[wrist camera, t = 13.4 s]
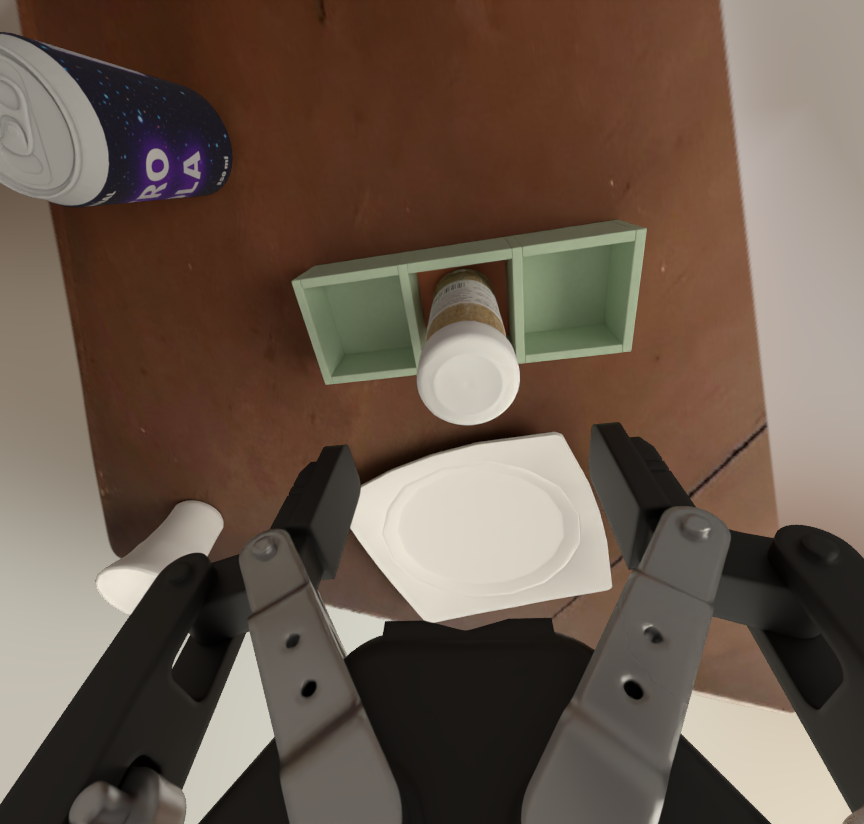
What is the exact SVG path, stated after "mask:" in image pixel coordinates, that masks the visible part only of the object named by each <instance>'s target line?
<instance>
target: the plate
mask: <svg viewBox="0 0 864 824" xmlns="http://www.w3.org/2000/svg"><path fill="white" fill-rule="evenodd" d="M350 528H351V530H352V531H353V533H354V534H355V536H356V537H357V539H358V540H359V542H360V543H361V544H362V546H363V547H364V548H365V550H366V551H367V552H368V554H369V555H370V556H371V558H372V559H373V560H374V562H375V563H376V564H377V566H378V567H379V568H380V570H381V571H382V572H383V573H384V574H385V576H386V577H387V578H388V579H389V581H390V582H391V583H392V584H393V585H394V587H395V588H396V589H397V590H398V591H399V592H400V594H401V595H402V596H403V597H404V598H405V599H406V600H407V601H408V603H409V604H410V605H411V606H412V607H413V608H414V609H415V611H416V612H417V613H418V614H419V615H420V616H421V617H422V619H423V620H424V621H428V622H432V623H434V622H439V621H444V620H449V619H454V618H459V617H463V616H468V615H473V614H478V613H483V612H489V611H494V610H500V609H505V608H511V607H516V606H522V605H527V604H532V603H537V602H542V601H547V600H553V599H559V598H564V597H570V596H576V595H582V594H588V593H594V592H600V591H605V590H609V589H610V588H611V587H612V582H611V573H610V564H609V555H608V546H607V539H606V535H605V531H604V527H603V523H602V519H601V515H600V511H599V509H598V506H597V503H596V501H595V498H594V495H593V493H592V490H591V487H590V484H589V482H588V480H587V478H586V476H585V475H584V473H583V471H582V469H581V467H580V466H579V464H578V462H577V460H576V458H575V457H574V455H573V453H572V451H571V449H570V448H569V446H568V444H567V442H566V440H565V439H564V437H563V435H562V434H559V433H557V432H549V433H542V434H535V435H527V436H520V437H512V438H505V439H498V440H490V441H483V442H476V443H473V444H469V445H465V446H461V447H457V448H453V449H450V450H446V451H442V452H438V453H434V454H431V455H428V456H426V457H423V458H420V459H418V460H415V461H412V462H409V463H407V464H404V465H401V466H399V467H396V468H393V469H391V470H389V471H387V472H385V473H383V474H382V475H380V476H378V477H376V478H374V479H372V480H370V481H368V482H366V483H364V484H362V485H361V492H360V497H359V501H358V504H357V507H356V510H355V513H354V517H353V520H352V523H351V526H350Z"/></svg>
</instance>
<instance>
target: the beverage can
mask: <svg viewBox="0 0 864 824" xmlns="http://www.w3.org/2000/svg"><path fill="white" fill-rule="evenodd" d="M231 168H232V148H231V143H230V139H229V136H228V133H227V130H226V128H225V126H224V124H223V122H222V120H221V118H220V117H219V115H218V114H217V112H216V111H215V110H214V108H213V107H212V106H211V105H210V104H209V103H208V102H207V101H206V100H205V99H204V98H203V97H202V96H200V95H199V94H198V93H196V92H195V91H193V90H191V89H189V88H187V87H185V86H182V85H178V84H175V83H172V82H169V81H165V80H162V79H159V78H156V77H153V76H149V75H146V74H143V73H140V72H136V71H133V70H130V69H127V68H123V67H120V66H117V65H114V64H110V63H107V62H104V61H101V60H98V59H94V58H91V57H88V56H85V55H81V54H78V53H75V52H72V51H68V50H65V49H62V48H59V47H55V46H52V45H49V44H46V43H43V42H39V41H36V40H33V39H30V38H26V37H23V36H20V35H16V34H12V33H5V32H0V183H2V184H4V185H5V186H7V187H9V188H10V189H12V190H14V191H16V192H18V193H21V194H23V195H27V196H30V197H34V198H40V199H45V200H47V201H50V202H52V203H55V204H58V205H62V206H67V207H86V206H97V205H108V204H118V203H129V202H140V201H150V200H161V199H172V198H183V197H193V196H204V195H210V194H213V193H215V192H216V191H218V190H219V189H221V188H222V187H223V186H224V184H225V183H226V181H227V180H228V178H229V175H230V172H231Z"/></svg>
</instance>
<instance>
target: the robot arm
mask: <svg viewBox="0 0 864 824" xmlns="http://www.w3.org/2000/svg"><path fill="white" fill-rule="evenodd" d="M589 473H590V478H591V481H592V484H593V486H594V488H595V491H596V493H597V496H598V498H599V500H600V503H601V505H602V508H603V510H604V512H605V515H606V517H607V519H608V522H609V524H610V527H611V529H612V531H613V534H614V536H615V538H616V541H617V543H618V546H619V548H620V550H621V553H622V555H623V558H624V560H625V562H626V565H627V567H628V569H629V570H631V569H633V571H632V572H631V574H630V576H629V578H628V581H627V583H626V585H625V587H624V589H623V591H622V593H621V596H620V598H619V600H618V602H617V604H616V606H615V608H614V610H613V613H612V615H611V617H610V619H609V621H608V623H607V625H606V628H605V630H604V632H603V634H602V636H601V638H600V640H599V643H598V645H597V647H596V649H595V650H593V649H592V648H590V647H589V646H587V645H586V644H584V643H582V642H580V641H578V640H576V639H574V638H572V637H569V636H567V635H564V634H561V633H557V632H554V629H553V624H552V619H551V618H524V619H506V620H503V621H499V622H496V623H493V624H489V625H486V626H482V627H479V628H475V629H472V630H468V631H464V630H459V629H455V628H451V627H447V626H443V625H440V624H436V623H432V622H428V621H385V625H384V632H383V635H382V636H379V637H376V638H374V639H372V640H370V641H367V642H366V643H364V644H362V645H360V646H359V647H358V648H356V649H355V650H354V651H352V652H351V653H350V654H349V655H348V656H347V654H346V651H345V649H344V648H343V645H342V643H341V641H340V639H339V636H338V634H337V632H336V630H335V628H334V625H333V623H332V621H331V619H330V617H329V614H328V612H327V610H326V608H325V605H324V603H323V601H322V599H321V596H320V594H319V592H318V590H317V589H318V586H319V584H320V581H321V580H325V579H334V578H335V575H336V572H337V568H338V565H339V562H340V559H341V556H342V552H343V549H344V546H345V543H346V539H347V536H348V533H349V530H350V526H351V523H352V520H353V517H354V513H355V510H356V507H357V504H358V501H359V497H360V492H361V484H360V478H359V475H358V472H357V469H356V466H355V463H354V460H353V457H352V454H351V451H350V448H349V446H348V445H336V446H325V447H324V448H323V450H322V452H321V454H320V456H319V458H318V460H317V462H310V463H309V464H308V465H307V466H306V467H305V468H304V469H303V470H302V471H301V472H300V473H299V475H298V477H297V479H296V481H295V483H294V486H292V488H291V490H290V492H289V496H287V498H286V500H285V501H284V503H283V505H282V507H281V509H280V511H279V513H278V515H277V517H276V518H275V520H274V522H273V524H272V526H271V528H270V530H267V531H264V532H262V533H259V534H258V535H256V536H255V537H253V538H252V539H251V540H250V541H248V542H247V543H246V545H245V546H244V547H243V549H242V550H241V552H240V554H238V555H235V556H232V557H229V558H226V559H223V560H220V561H217V562H213V563H211V561H210V560H209V558H208V557H207V556H206V555H205V554H203V553H190V554H187V555H184V556H182V557H180V558H178V559H176V560H175V561H173V562H171V563H170V564H169V565H167V566H166V567H165V568H164V569H163V570H162V571H161V572H160V573H159V575H158V576H157V577H156V579H155V580H154V582H153V583H152V584H151V586H150V587H149V589H148V590H147V592H146V593H145V595H144V596H143V598H142V599H141V600H140V602H139V603H138V605H137V606H136V608H135V609H134V611H133V612H132V614H131V615H130V616H129V618H128V619H127V621H126V622H125V624H124V625H123V627H122V628H121V630H120V631H119V632H118V634H117V635H116V637H115V638H114V640H113V641H112V643H111V644H110V646H109V647H108V648H107V650H106V651H105V653H104V654H103V656H102V657H101V659H100V660H99V662H98V663H97V665H96V666H95V667H94V669H93V671H92V672H91V673H90V675H89V676H88V678H87V679H86V680H85V682H84V683H83V685H82V686H81V688H80V689H79V691H78V692H77V694H76V695H75V696H74V698H73V699H72V701H71V702H70V704H69V705H68V707H67V708H66V710H65V711H64V712H63V714H62V715H61V717H60V718H59V720H58V721H57V723H56V724H55V726H54V727H53V728H52V730H51V731H50V733H49V734H48V736H47V737H46V739H45V740H44V742H43V743H42V744H41V746H40V748H39V749H38V750H37V752H36V753H35V755H34V756H33V758H32V759H31V760H30V762H29V763H28V765H27V766H26V768H25V769H24V771H23V772H22V774H21V775H20V776H19V778H18V780H17V781H16V782H15V784H14V785H13V787H12V788H11V790H10V791H9V793H8V794H7V795H6V797H5V798H4V800H3V801H2V803H1V804H0V824H184V821H185V815H186V798H185V796H184V793H183V792H182V789H183V786H184V784H185V781H186V779H187V776H188V774H189V771H190V769H191V767H192V764H193V762H194V759H195V757H196V754H197V752H198V749H199V747H200V745H201V742H202V739H203V737H204V735H205V732H206V730H207V727H208V725H209V722H210V720H211V718H212V715H213V713H214V710H215V708H216V705H217V703H218V700H219V698H220V696H221V693H222V691H223V688H224V686H225V683H226V681H227V678H228V676H229V673H230V671H231V669H232V666H233V664H234V661H235V659H236V656H237V654H238V651H239V649H240V647H241V644H242V642H243V639H244V637H245V634H246V632H249V631H250V635H251V639H252V643H253V647H254V652H255V656H256V660H257V664H258V668H259V672H260V676H261V681H262V685H263V689H264V693H265V698H266V702H267V706H268V710H269V714H270V719H271V723H272V727H273V731H274V735H275V737H274V738H273V739H272V740H271V742H270V743H269V744H268V745H267V746H266V747H265V748H264V750H263V751H262V752H261V753H260V754H259V755H258V756H257V758H256V759H255V760H254V761H253V762H252V763H251V764H250V765H249V767H248V768H247V769H246V770H245V771H244V772H243V773H242V775H241V776H240V777H239V778H238V779H237V780H236V781H235V782H234V784H233V785H232V786H231V787H230V788H229V789H228V790H227V792H226V793H225V794H224V795H223V796H222V797H221V798H220V800H219V801H218V802H217V803H216V804H215V805H214V806H213V807H212V809H211V810H210V811H209V812H208V813H207V814H206V815H205V817H204V818H203V819H202V820H201V821H200V822H199V823H198V824H771V823H770V822H769V821H768V820H767V819H766V818H765V817H764V816H763V815H762V814H761V813H760V812H759V811H758V810H757V809H756V808H755V807H754V806H753V805H752V804H751V803H750V802H749V801H748V800H747V799H746V798H745V797H744V796H743V795H742V794H741V793H740V792H739V791H738V790H737V789H736V788H735V787H734V786H733V785H732V784H731V783H730V782H729V781H728V780H727V779H726V778H725V777H724V776H723V775H722V774H721V773H720V772H719V771H718V770H717V769H716V768H715V767H714V766H713V765H712V764H711V763H710V762H709V761H708V760H707V759H706V758H705V757H704V756H703V755H702V754H701V753H700V752H699V751H698V750H697V749H696V748H695V747H694V746H693V745H692V744H691V743H690V742H688V740H687V739H686V738H685V737H684V736H683V735H682V734H681V730H682V726H683V722H684V719H685V714H686V711H687V708H688V704H689V700H690V696H691V693H692V689H693V685H694V682H695V678H696V674H697V671H698V667H699V663H700V660H701V656H702V652H703V648H704V645H705V641H706V637H707V634H708V630H709V626H710V623H711V619H712V616H713V617H717V618H720V619H724V620H728V621H732V622H736V623H740V624H743V625H747V626H748V628H749V630H750V632H751V633H752V635H753V637H754V639H755V641H756V642H757V644H758V646H759V648H760V650H761V651H762V653H763V655H764V657H765V658H766V660H767V662H768V664H769V666H770V667H771V669H772V671H773V673H774V674H775V676H776V678H777V680H778V682H779V683H780V685H781V687H782V689H783V691H784V692H785V694H786V696H787V698H788V699H789V701H790V703H791V705H792V707H793V708H794V710H795V712H796V714H797V715H798V717H799V719H800V721H801V723H802V724H803V726H804V728H805V730H806V731H807V733H808V735H809V737H810V739H811V740H812V742H813V744H814V746H815V748H816V749H817V751H818V753H819V755H820V756H821V758H822V760H823V762H824V764H825V765H826V767H827V769H828V771H829V772H830V774H831V776H832V778H833V780H834V781H835V783H836V785H837V787H838V789H839V790H840V792H841V794H842V796H843V797H844V799H845V801H846V803H847V804H848V806H849V808H850V810H851V812H852V814H851V815H850V816H848V817H847V818H846V819H845V821H844V822H843V824H864V558H863V557H862V556H861V555H860V554H859V553H858V552H857V551H856V550H855V549H854V548H852V546H851V545H849V544H848V543H847V542H845V541H844V540H842V539H841V538H839V537H837V536H835V535H833V534H831V533H829V532H826V531H824V530H821V529H818V528H815V527H810V526H804V525H789V526H785V527H782V528H780V529H779V530H778V531H777V533H776V534H775V537H774V538H769V537H764V536H758V535H753V534H747V533H742V532H737V531H733V530H730V529H728V528H727V526H726V525H725V524H724V523H723V522H722V521H721V520H720V519H719V518H718V517H716V516H715V515H713V514H711V513H709V512H707V511H705V510H702V509H699V508H696V507H695V505H694V504H693V502H692V501H691V499H690V498H689V496H688V495H687V494H686V492H685V491H684V489H683V488H682V486H681V485H680V484H679V482H678V481H677V479H676V478H675V476H674V475H673V474H672V472H671V471H669V468H668V466H667V465H666V464H665V462H664V461H662V458H661V456H660V455H659V453H658V452H657V451H656V449H655V448H654V446H652V445H651V444H649V443H648V442H646V441H645V440H643V439H642V438H640V437H630V438H629V436H628V435H627V433H626V431H625V430H624V428H623V427H622V425H621V424H620V423H619V422H615V423H603V424H593V426H592V429H591V440H590V452H589ZM188 633H189V634H190V636H189V638H188V640H187V642H186V644H185V646H184V648H183V650H182V652H181V653H180V655H179V657H178V659H177V661H176V663H175V665H174V667H173V669H172V665H173V662H174V659H175V657H176V655H177V653H178V651H179V649H180V647H181V645H182V643H183V642H184V640H185V638H186V636H187V634H188Z"/></svg>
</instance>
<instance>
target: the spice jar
mask: <svg viewBox="0 0 864 824" xmlns="http://www.w3.org/2000/svg"><path fill="white" fill-rule="evenodd" d="M519 383H520V372H519V366H518V362H517V359H516V355H515V352H514V349H513V347H512V345H511V343H510V342H509V340H508V339H507V338H506V333H505V329H504V325H503V322H502V319H501V315H500V312H499V308H498V304H497V301H496V299H495V292H494V289H493V286H492V284H491V282H490V280H489V279H488V278H487V277H486V276H485V275H484V274H482V273H480V272H479V271H477V270H474V269H467V268H460V269H457V270H454V271H451V272H450V273H448V274H446V275H445V276H444V277H443V278H442V279H441V280H440V281H439V283H438V284H437V286H436V289H435V291H434V294H433V304H432V308H431V312H430V317H429V322H428V327H427V333H426V344H425V345H424V347H423V350H422V352H421V355H420V359H419V364H418V371H417V387H418V391H419V394H420V397H421V399H422V401H423V402H424V404H425V405H426V406H427V408H428V409H429V410H430V411H431V412H432V413H433V414H435V415H436V416H438V417H439V418H441V419H443V420H445V421H447V422H450V423H454V424H459V425H476V424H481V423H484V422H487V421H490V420H492V419H494V418H496V417H497V416H499V415H500V414H502V413H503V412H504V411H505V410H506V409H507V408H508V407H509V406H510V405H511V403H512V402H513V400H514V398H515V396H516V394H517V392H518V388H519Z"/></svg>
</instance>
